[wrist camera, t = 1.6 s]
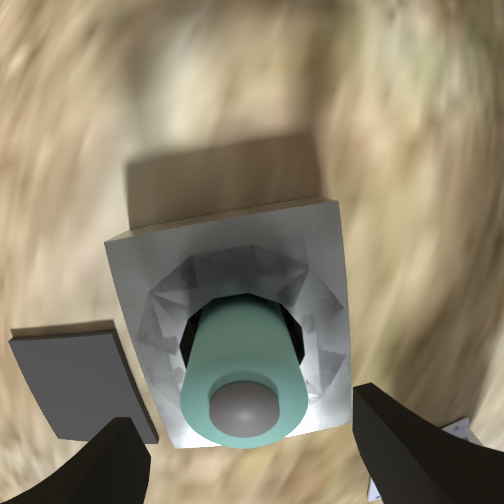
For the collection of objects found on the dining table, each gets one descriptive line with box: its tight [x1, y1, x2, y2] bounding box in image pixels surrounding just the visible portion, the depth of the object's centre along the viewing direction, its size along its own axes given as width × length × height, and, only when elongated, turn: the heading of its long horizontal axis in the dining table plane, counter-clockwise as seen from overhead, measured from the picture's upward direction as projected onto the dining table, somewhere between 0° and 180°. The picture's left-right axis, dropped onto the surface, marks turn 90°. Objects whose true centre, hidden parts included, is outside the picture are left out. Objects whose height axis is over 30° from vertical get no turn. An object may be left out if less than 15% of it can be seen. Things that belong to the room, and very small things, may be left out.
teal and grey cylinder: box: [180, 293, 308, 448], centre depth 14 cm, size 4×4×8 cm
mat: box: [8, 329, 159, 444], centre depth 18 cm, size 9×9×1 cm
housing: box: [104, 197, 351, 448], centre depth 16 cm, size 10×12×4 cm
